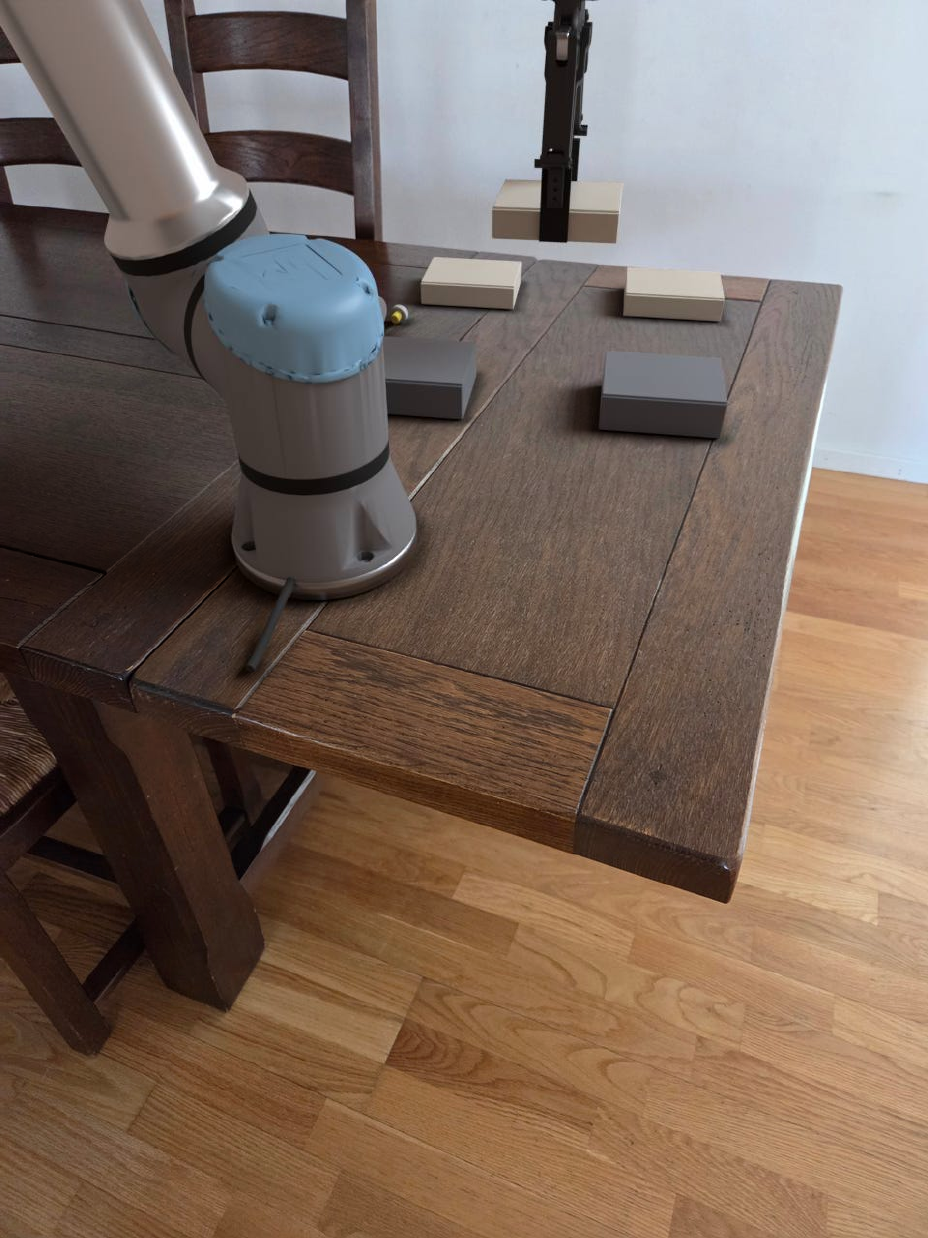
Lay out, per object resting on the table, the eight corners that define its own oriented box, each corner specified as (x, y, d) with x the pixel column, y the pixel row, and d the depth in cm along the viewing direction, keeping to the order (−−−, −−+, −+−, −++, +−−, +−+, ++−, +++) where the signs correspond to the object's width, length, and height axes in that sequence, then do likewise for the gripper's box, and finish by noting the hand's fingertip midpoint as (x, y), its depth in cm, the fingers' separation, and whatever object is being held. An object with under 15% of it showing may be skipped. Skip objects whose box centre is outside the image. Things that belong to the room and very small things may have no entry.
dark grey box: (719, 440, 85) (727, 403, 83) (598, 431, 87) (602, 394, 84) (713, 392, 93) (720, 357, 90) (602, 384, 94) (605, 349, 92)
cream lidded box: (720, 322, 107) (725, 298, 105) (623, 316, 108) (626, 293, 106) (715, 294, 114) (719, 271, 112) (624, 289, 115) (627, 266, 113)
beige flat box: (616, 244, 82) (619, 211, 80) (491, 239, 83) (491, 207, 81) (620, 213, 89) (623, 182, 87) (504, 209, 90) (505, 178, 88)
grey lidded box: (462, 421, 88) (461, 385, 86) (348, 412, 90) (345, 377, 87) (476, 376, 96) (476, 341, 93) (371, 369, 98) (369, 335, 95)
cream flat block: (513, 310, 110) (513, 287, 108) (421, 305, 111) (420, 281, 109) (520, 283, 117) (521, 261, 115) (434, 279, 118) (433, 256, 116)
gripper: (614, -50, 62) (588, 265, 77) (624, -72, 78) (601, 192, 93) (511, -49, 63) (506, 261, 78) (542, -72, 79) (532, 189, 94)
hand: (557, 223), depth 86 cm, fingers closed on beige flat box, 9 cm apart
